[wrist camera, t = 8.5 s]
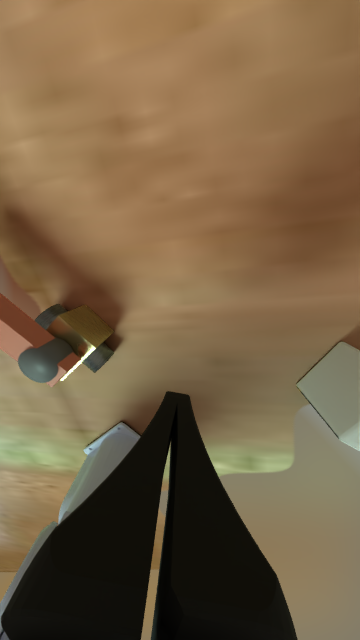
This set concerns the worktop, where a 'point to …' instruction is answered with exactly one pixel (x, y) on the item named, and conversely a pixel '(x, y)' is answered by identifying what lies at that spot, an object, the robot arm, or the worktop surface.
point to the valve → (79, 334)
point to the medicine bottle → (337, 392)
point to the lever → (33, 346)
